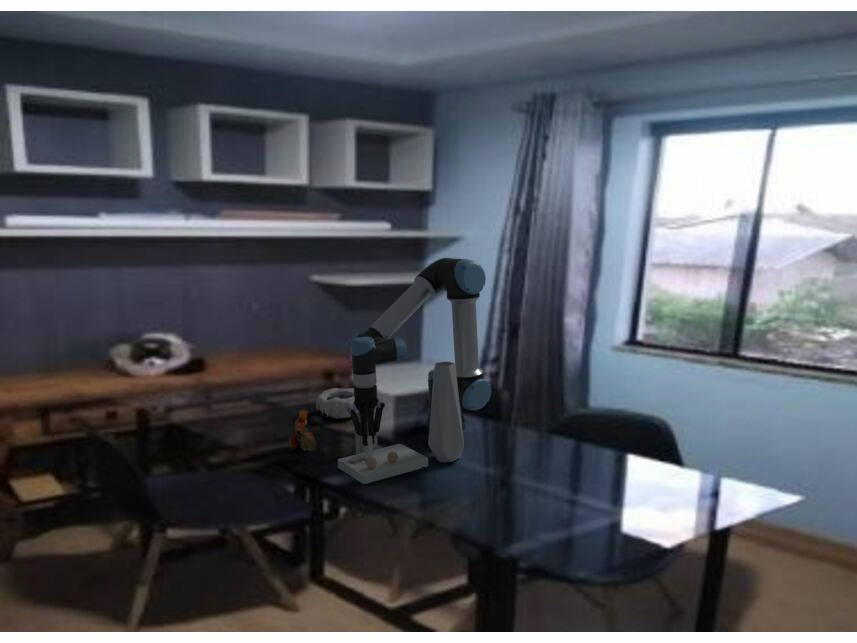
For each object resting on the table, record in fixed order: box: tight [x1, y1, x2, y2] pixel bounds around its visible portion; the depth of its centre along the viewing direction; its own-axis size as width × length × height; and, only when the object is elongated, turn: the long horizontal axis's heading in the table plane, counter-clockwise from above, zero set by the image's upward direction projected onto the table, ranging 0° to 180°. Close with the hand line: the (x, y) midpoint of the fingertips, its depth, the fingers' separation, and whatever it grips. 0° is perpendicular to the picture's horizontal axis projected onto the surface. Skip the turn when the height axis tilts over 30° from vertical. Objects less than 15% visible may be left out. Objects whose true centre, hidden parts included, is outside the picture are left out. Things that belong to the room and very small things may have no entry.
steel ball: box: [356, 459, 365, 463], centre depth 255 cm, size 4×4×4 cm
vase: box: [428, 360, 465, 463], centre depth 258 cm, size 12×12×33 cm
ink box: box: [353, 415, 379, 455], centre depth 269 cm, size 7×4×13 cm, turn 131°
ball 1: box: [366, 457, 377, 469], centre depth 248 cm, size 4×4×4 cm
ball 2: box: [387, 451, 398, 462], centre depth 252 cm, size 4×4×4 cm
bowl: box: [315, 387, 359, 420], centre depth 314 cm, size 21×20×10 cm
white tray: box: [337, 443, 429, 485], centre depth 257 cm, size 24×18×3 cm
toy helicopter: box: [288, 409, 317, 452], centre depth 272 cm, size 8×21×14 cm, turn 25°
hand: (369, 454), depth 257 cm, fingers closed
